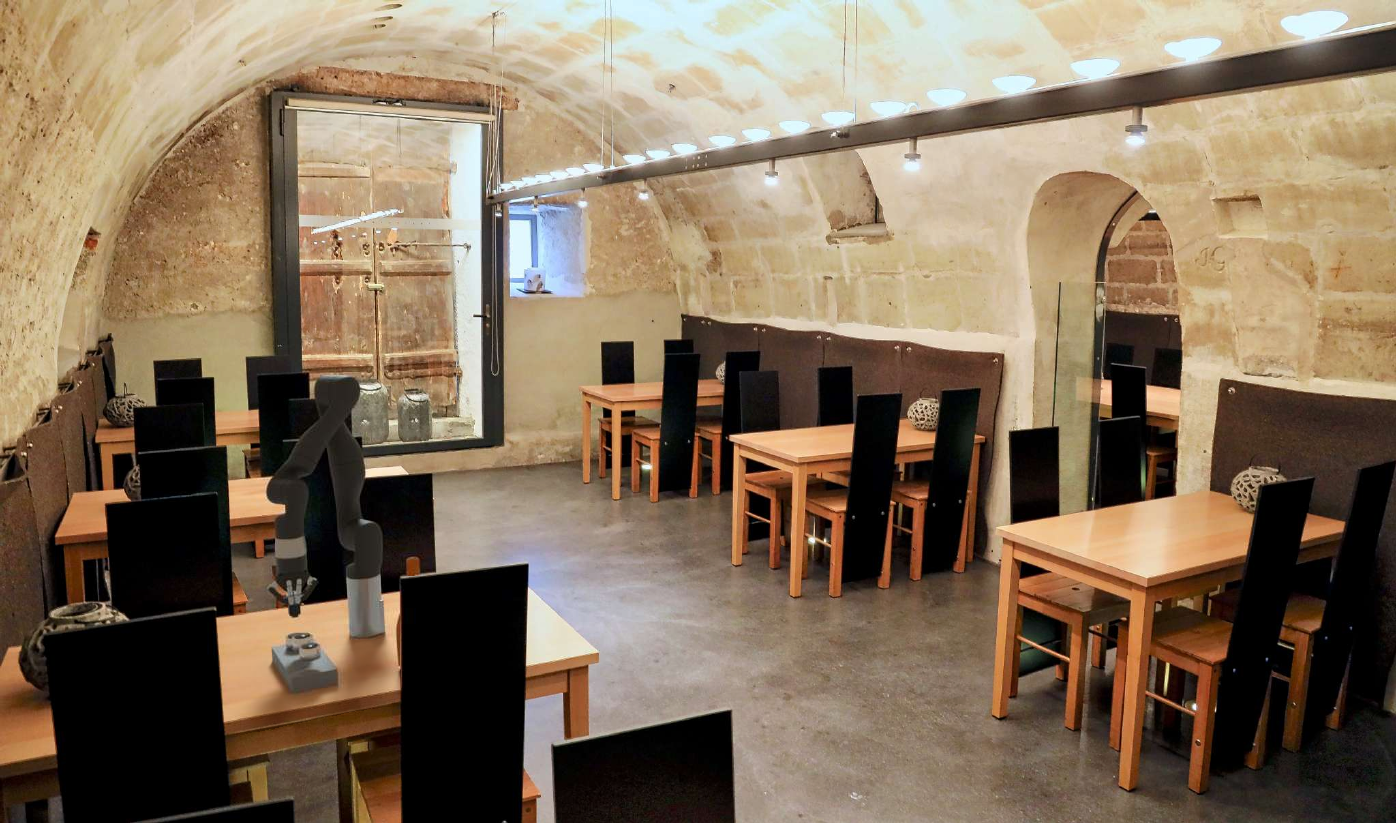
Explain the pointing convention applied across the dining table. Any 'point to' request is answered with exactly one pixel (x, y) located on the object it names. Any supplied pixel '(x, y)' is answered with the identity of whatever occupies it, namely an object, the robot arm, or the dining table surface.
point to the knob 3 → (310, 652)
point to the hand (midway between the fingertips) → (294, 616)
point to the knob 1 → (289, 641)
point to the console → (304, 670)
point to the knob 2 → (301, 640)
